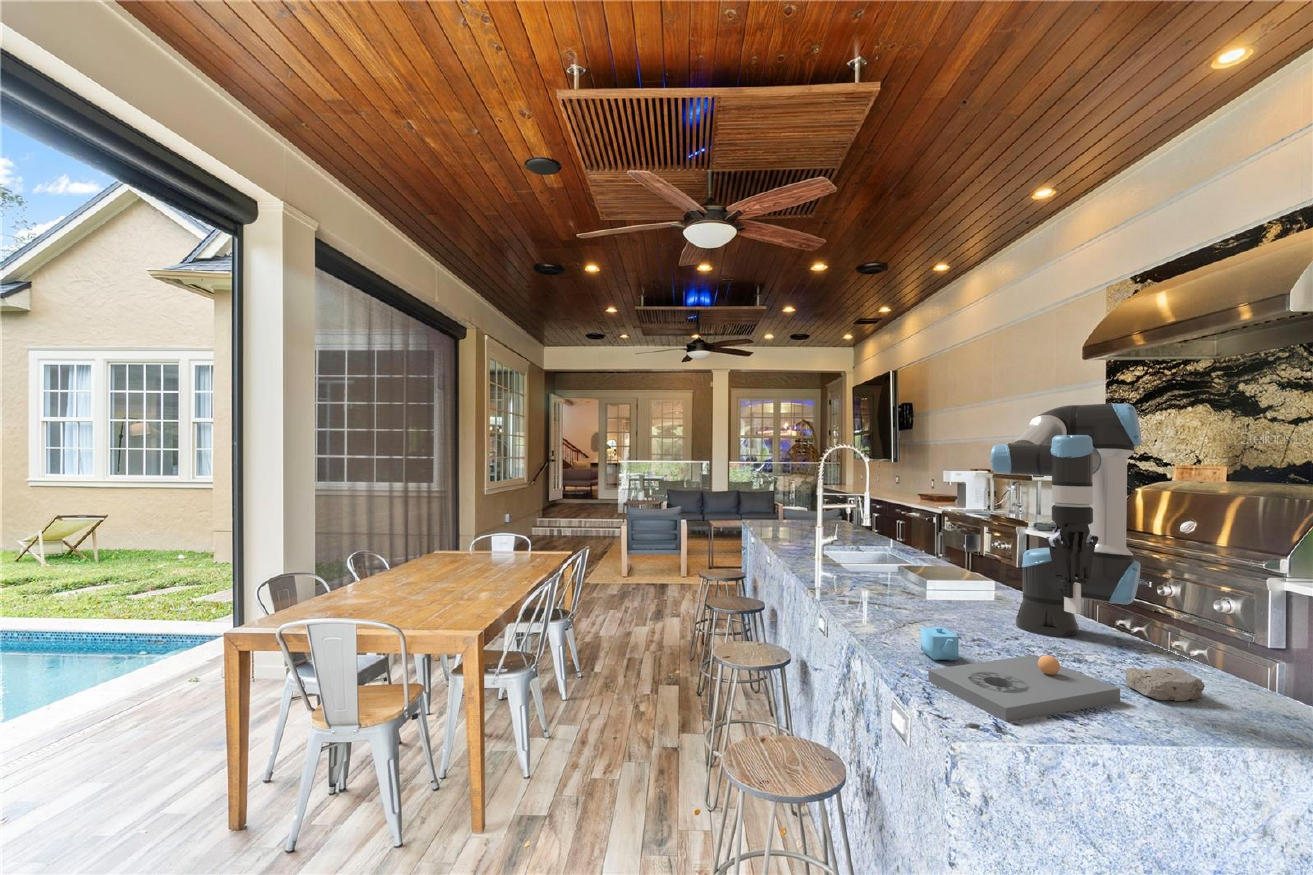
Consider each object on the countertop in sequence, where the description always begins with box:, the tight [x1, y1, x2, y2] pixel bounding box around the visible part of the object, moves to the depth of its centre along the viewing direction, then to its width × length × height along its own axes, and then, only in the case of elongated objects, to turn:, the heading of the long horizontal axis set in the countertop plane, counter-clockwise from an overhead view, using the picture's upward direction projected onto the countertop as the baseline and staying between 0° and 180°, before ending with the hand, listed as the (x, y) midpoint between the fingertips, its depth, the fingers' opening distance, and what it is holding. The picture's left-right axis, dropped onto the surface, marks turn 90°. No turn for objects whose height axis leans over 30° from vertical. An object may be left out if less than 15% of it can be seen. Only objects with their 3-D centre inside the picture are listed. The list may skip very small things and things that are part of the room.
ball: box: [1038, 654, 1061, 675], centre depth 130 cm, size 4×4×4 cm
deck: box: [927, 654, 1121, 723], centre depth 128 cm, size 30×20×3 cm, turn 107°
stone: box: [1125, 666, 1206, 702], centre depth 127 cm, size 13×6×10 cm
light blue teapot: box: [920, 626, 960, 662], centre depth 147 cm, size 12×6×8 cm, turn 178°
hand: (1072, 612), depth 132 cm, fingers closed
